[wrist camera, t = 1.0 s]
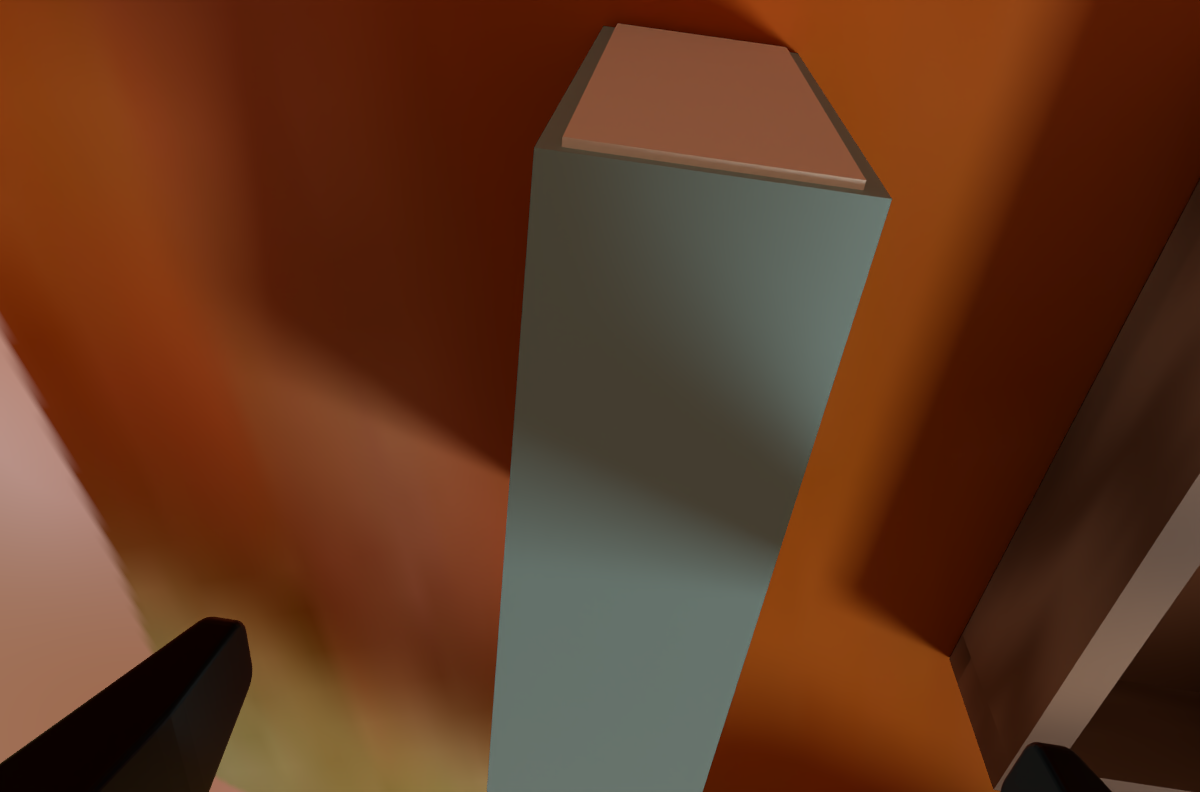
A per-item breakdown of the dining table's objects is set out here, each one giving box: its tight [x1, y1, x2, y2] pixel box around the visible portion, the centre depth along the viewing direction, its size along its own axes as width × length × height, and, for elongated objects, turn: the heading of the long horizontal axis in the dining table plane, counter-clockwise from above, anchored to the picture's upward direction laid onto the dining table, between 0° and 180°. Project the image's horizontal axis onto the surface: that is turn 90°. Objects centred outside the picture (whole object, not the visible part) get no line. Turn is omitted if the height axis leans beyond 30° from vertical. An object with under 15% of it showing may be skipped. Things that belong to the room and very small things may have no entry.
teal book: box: [487, 23, 892, 792], centre depth 14 cm, size 11×4×8 cm, turn 173°
